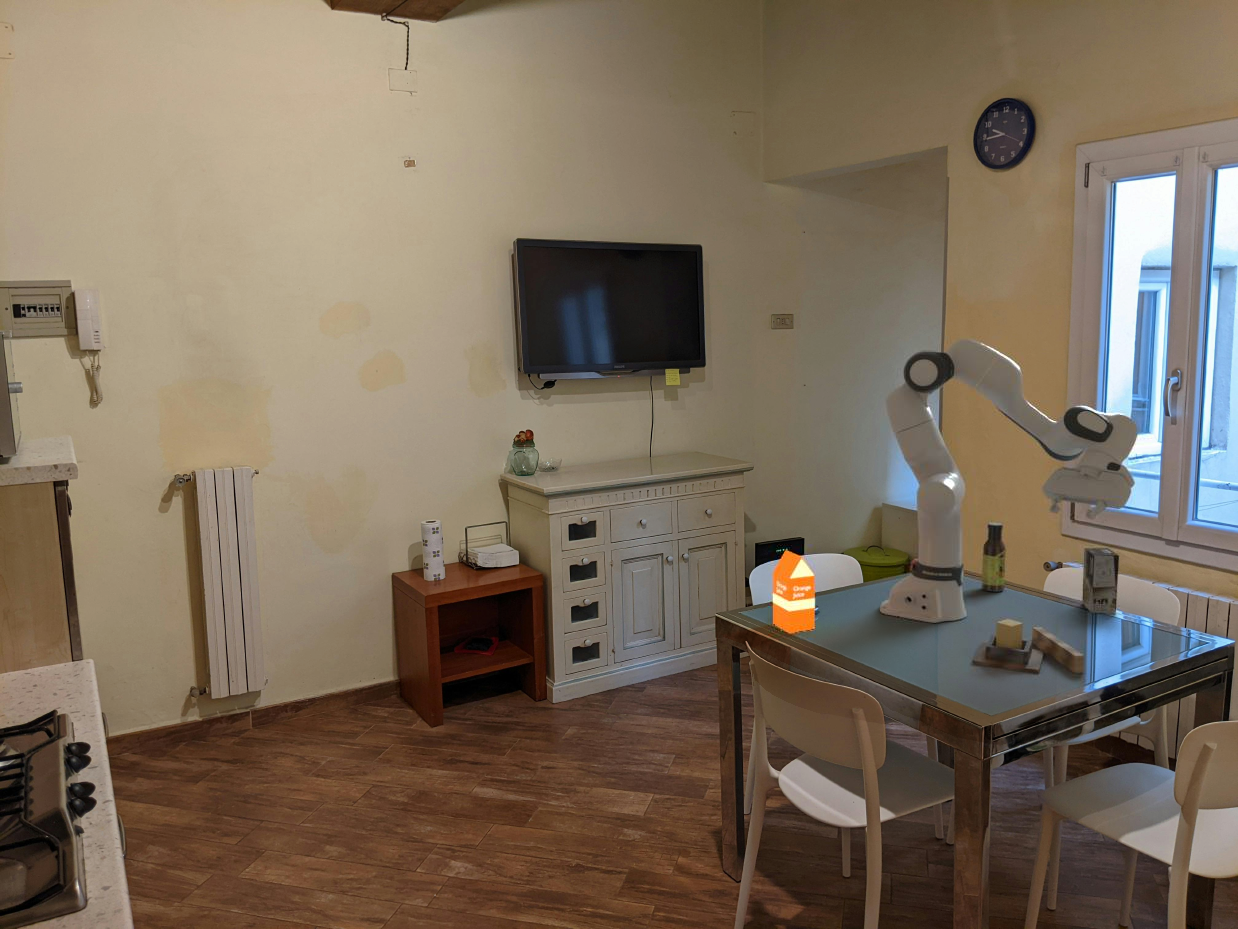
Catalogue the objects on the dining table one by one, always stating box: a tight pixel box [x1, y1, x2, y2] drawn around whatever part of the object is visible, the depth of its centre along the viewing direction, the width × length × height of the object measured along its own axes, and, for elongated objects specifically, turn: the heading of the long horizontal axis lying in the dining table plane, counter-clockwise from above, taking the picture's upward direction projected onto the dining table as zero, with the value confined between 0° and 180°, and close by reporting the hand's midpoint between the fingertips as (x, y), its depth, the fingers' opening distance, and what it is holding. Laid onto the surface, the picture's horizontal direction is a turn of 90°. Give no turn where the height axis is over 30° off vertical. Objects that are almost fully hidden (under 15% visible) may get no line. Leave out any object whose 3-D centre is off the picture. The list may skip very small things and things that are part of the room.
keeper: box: [972, 634, 1045, 674], centre depth 213 cm, size 14×14×4 cm
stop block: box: [995, 618, 1024, 650], centre depth 212 cm, size 4×4×8 cm
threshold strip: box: [1031, 626, 1085, 674], centre depth 213 cm, size 20×2×4 cm, turn 1°
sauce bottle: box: [981, 522, 1007, 593], centre depth 268 cm, size 6×6×20 cm
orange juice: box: [772, 549, 816, 634], centre depth 239 cm, size 8×9×20 cm
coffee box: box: [1081, 547, 1120, 615], centre depth 248 cm, size 9×6×16 cm
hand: (1070, 514), depth 221 cm, fingers open, 8 cm apart
